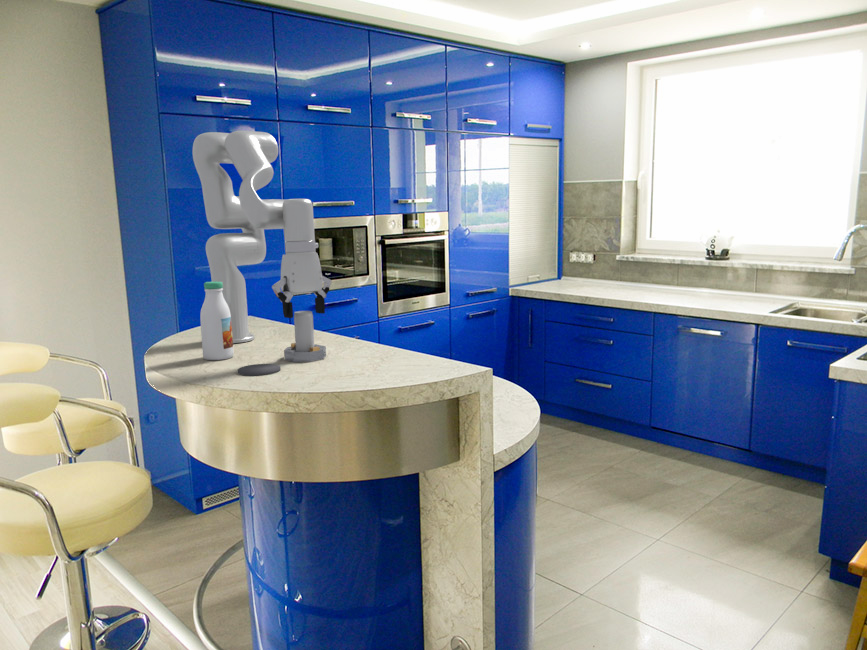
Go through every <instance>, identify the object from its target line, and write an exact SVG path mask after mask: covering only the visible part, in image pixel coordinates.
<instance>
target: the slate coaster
mask: <svg viewBox="0 0 867 650" xmlns="http://www.w3.org/2000/svg"><path fill="white" fill-rule="evenodd" d="M280 371H281V366H280V365H279V364H275V363H256V364H255V363H254V364H249V365H244V366H240V367H239V368H237V371H236V372H237V374H238V375H241V376H245V377H247V376H249V377H255V376H256V377H257V376H267V375H272V374H276V373H278V372H280Z"/></svg>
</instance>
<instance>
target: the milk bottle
mask: <svg viewBox="0 0 867 650" xmlns="http://www.w3.org/2000/svg"><path fill="white" fill-rule="evenodd" d="M203 287H204V288H203V289H204V292H205V297H204V300H203V303H202V305H201V306H202V307H201V309H200V313H199V314H200V334H201V335H200V337H201V346H202V347H201V348H202V349H201V350H202V357H203V359H204V360H207V361H220V360H228V359H230V358H233V357H234V354H235V353H234V343H233V337H232V324H231V314H230V310H229V307H228V305H227V303H226V301H225V299H224V297H223V294H222V290H223V283H222V282H219V281H215V282H212V281H205V282H204V283H203Z"/></svg>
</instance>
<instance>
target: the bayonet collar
mask: <svg viewBox="0 0 867 650" xmlns="http://www.w3.org/2000/svg"><path fill="white" fill-rule="evenodd" d="M283 354H284V355H283V356H284V357H283V358H284V361H288V362H292V363H306V362H309V363H310V362H316V361H321V360H324V359H325V358H326V357H327V347H326V345H321V344H315V343H314V347H310V351H296V344H295V342H293V343H292V342H291V343H290V346H288V347H287V346H286V348H285V349H284V350H283Z"/></svg>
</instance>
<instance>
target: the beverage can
mask: <svg viewBox="0 0 867 650" xmlns="http://www.w3.org/2000/svg"><path fill="white" fill-rule="evenodd" d="M293 325H294V343H295V344H296V351H310V347H314V344H315V332H314V331H315V329H314V314H313V311H311V310H298V311H293Z"/></svg>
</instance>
